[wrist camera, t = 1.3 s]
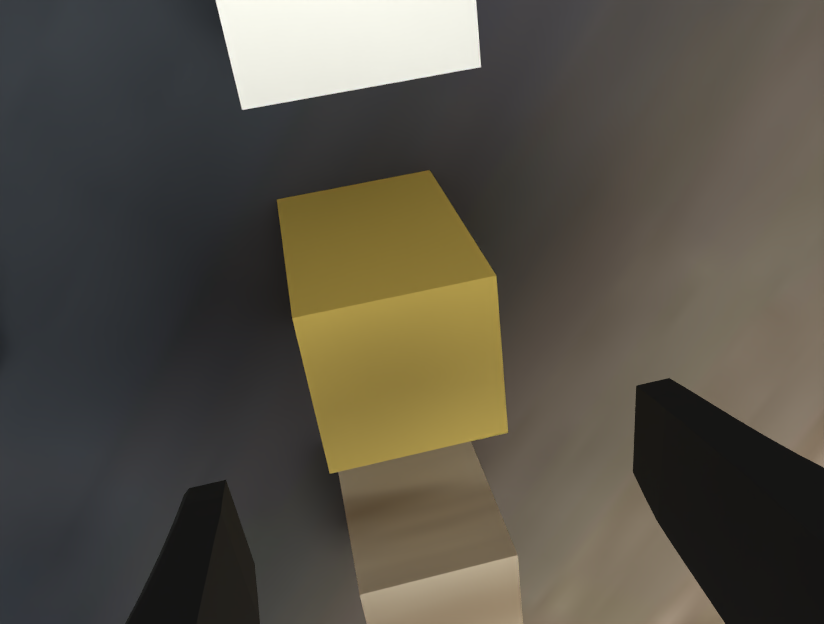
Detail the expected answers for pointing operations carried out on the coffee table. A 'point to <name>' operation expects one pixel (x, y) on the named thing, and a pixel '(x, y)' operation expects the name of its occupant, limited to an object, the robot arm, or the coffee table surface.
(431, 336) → the mustard bar
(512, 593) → the birch bar
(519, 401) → the coffee table surface
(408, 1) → the off-white bar
